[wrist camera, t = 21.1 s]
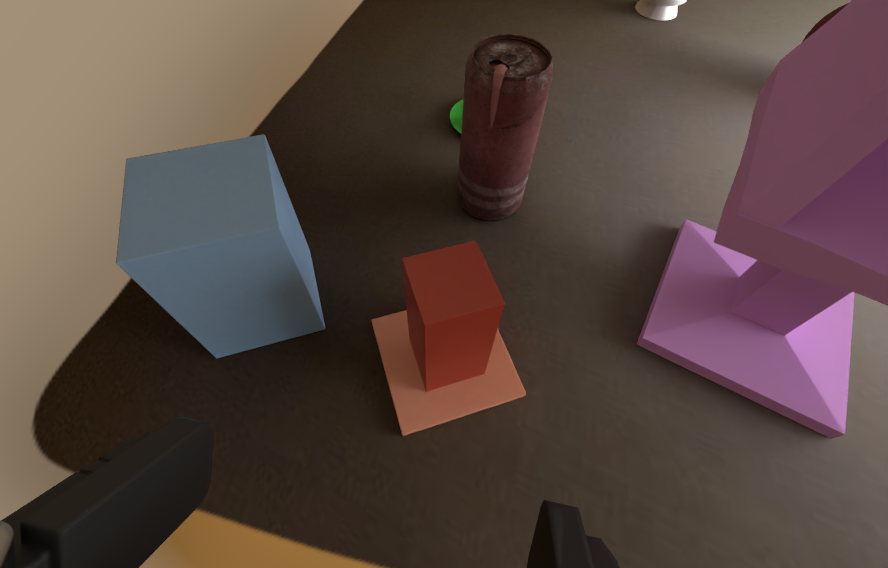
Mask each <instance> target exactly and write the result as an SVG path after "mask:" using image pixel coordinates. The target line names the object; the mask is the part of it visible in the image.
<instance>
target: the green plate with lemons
mask: <svg viewBox="0 0 888 568" xmlns="http://www.w3.org/2000/svg"><path fill="white" fill-rule="evenodd" d="M463 102H464V99H463V100H461V101H459V102H458V103H456V104H455V105H454V106H453V108H452V110H451V112H450V120H451V123H452V125H453V126H454V128H455V129H456V130H457V131H458V132H460V133H461V130H462V116H463Z"/></svg>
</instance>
